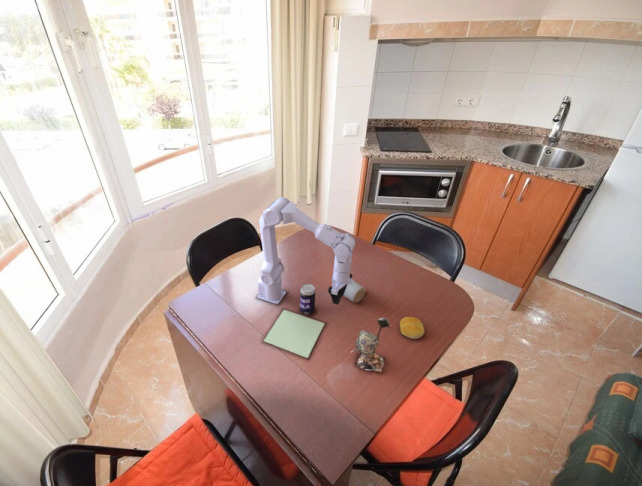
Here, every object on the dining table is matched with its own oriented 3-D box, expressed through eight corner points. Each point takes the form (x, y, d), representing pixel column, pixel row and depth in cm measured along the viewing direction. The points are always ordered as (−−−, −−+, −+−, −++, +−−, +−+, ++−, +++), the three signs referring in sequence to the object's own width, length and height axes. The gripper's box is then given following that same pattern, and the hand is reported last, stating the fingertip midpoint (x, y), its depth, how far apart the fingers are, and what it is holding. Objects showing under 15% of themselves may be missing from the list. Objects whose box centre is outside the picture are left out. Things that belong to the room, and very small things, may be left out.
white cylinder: (353, 307, 128) (356, 292, 123) (338, 296, 133) (339, 282, 129) (370, 295, 133) (372, 280, 129) (354, 285, 139) (356, 271, 134)
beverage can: (299, 306, 129) (299, 283, 122) (313, 305, 129) (314, 282, 123) (301, 316, 125) (301, 293, 118) (315, 315, 125) (316, 292, 118)
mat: (263, 341, 115) (263, 340, 115) (284, 310, 128) (283, 309, 127) (307, 358, 109) (307, 358, 109) (324, 323, 121) (324, 323, 121)
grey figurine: (356, 345, 113) (363, 304, 101) (388, 360, 107) (399, 319, 96) (346, 361, 107) (352, 320, 96) (379, 379, 102) (390, 337, 90)
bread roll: (401, 338, 115) (403, 331, 112) (398, 320, 122) (400, 312, 119) (425, 341, 113) (428, 334, 111) (421, 322, 120) (423, 315, 118)
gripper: (347, 283, 104) (343, 313, 112) (359, 259, 114) (355, 287, 122) (326, 277, 107) (324, 307, 114) (340, 254, 117) (337, 282, 125)
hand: (338, 296), depth 119 cm, fingers open, 7 cm apart
